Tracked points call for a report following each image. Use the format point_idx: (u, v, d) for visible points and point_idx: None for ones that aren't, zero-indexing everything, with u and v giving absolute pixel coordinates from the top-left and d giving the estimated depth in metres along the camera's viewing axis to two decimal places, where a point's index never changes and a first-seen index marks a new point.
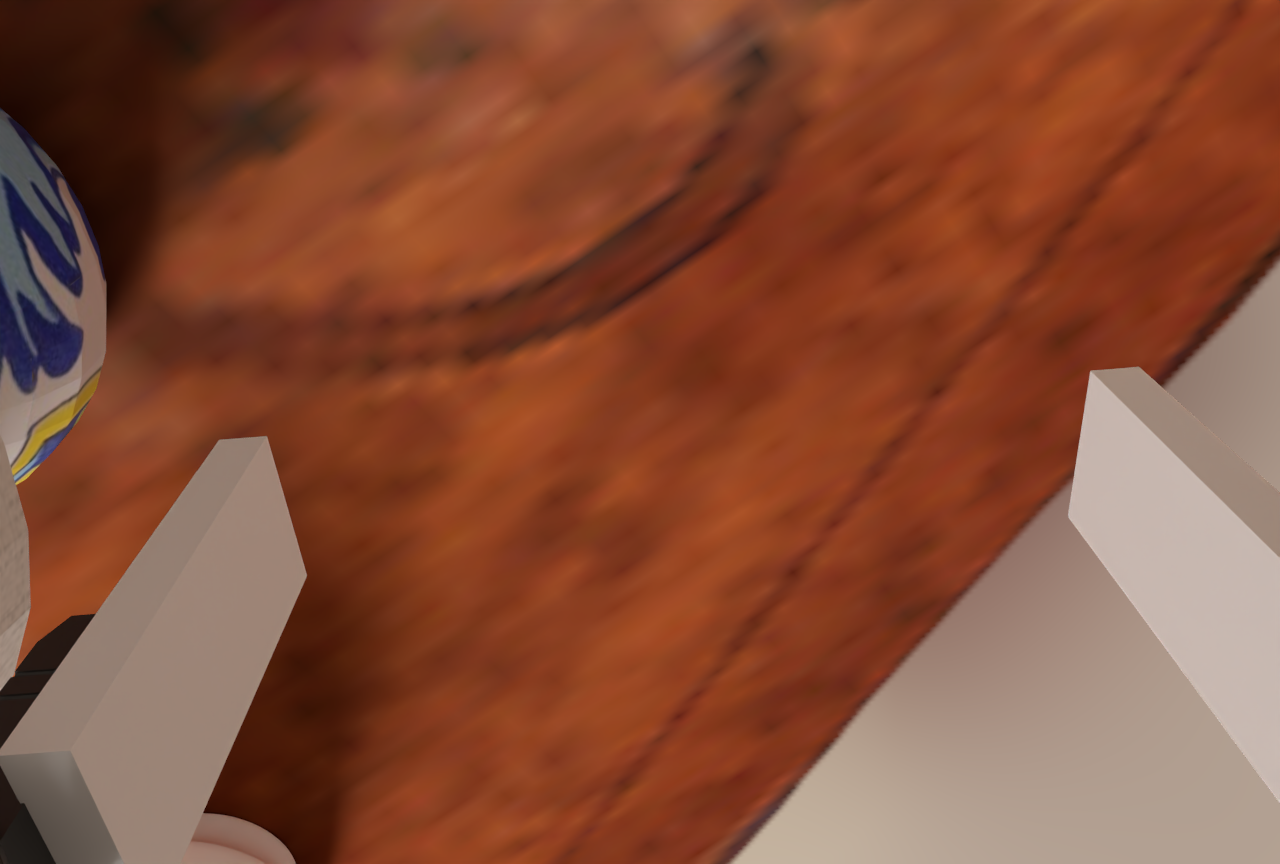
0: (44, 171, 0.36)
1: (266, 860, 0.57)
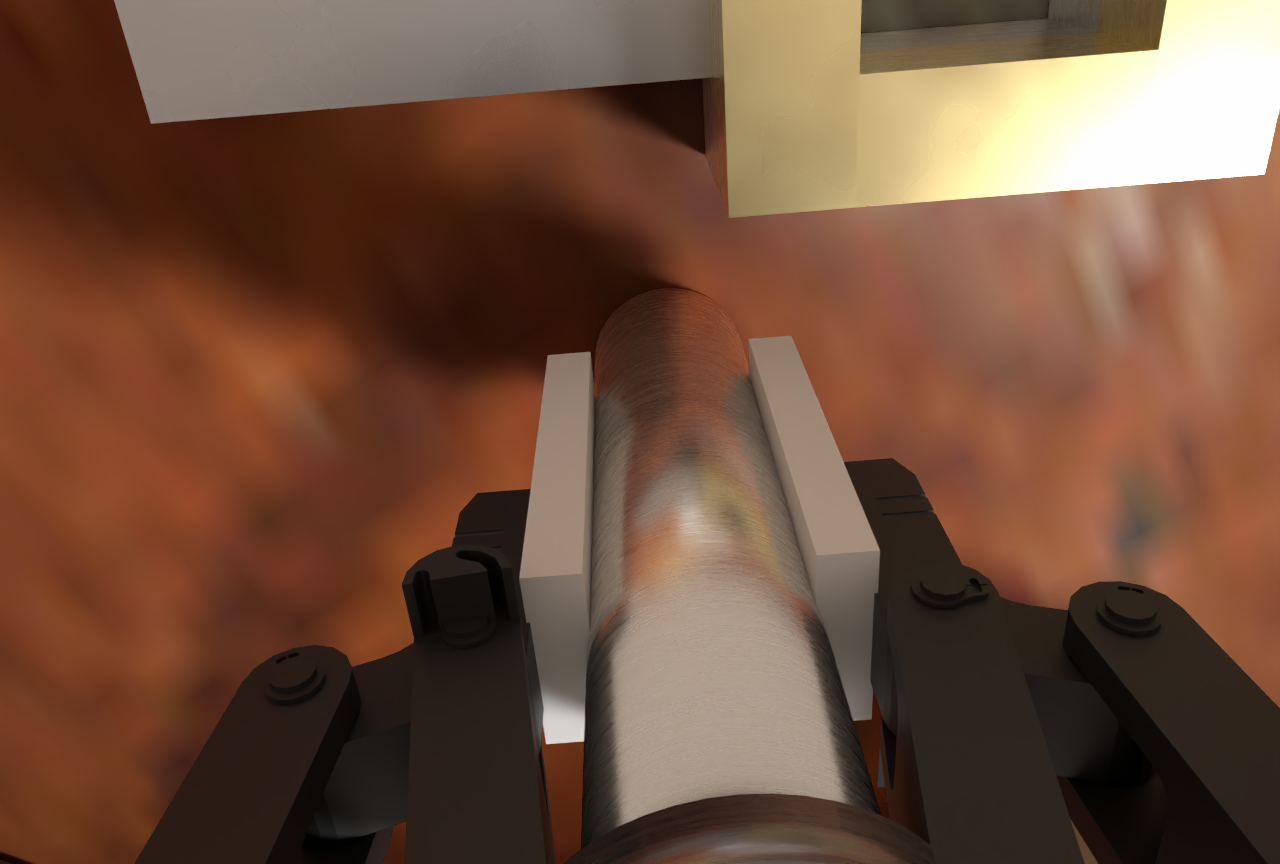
0: None
1: None
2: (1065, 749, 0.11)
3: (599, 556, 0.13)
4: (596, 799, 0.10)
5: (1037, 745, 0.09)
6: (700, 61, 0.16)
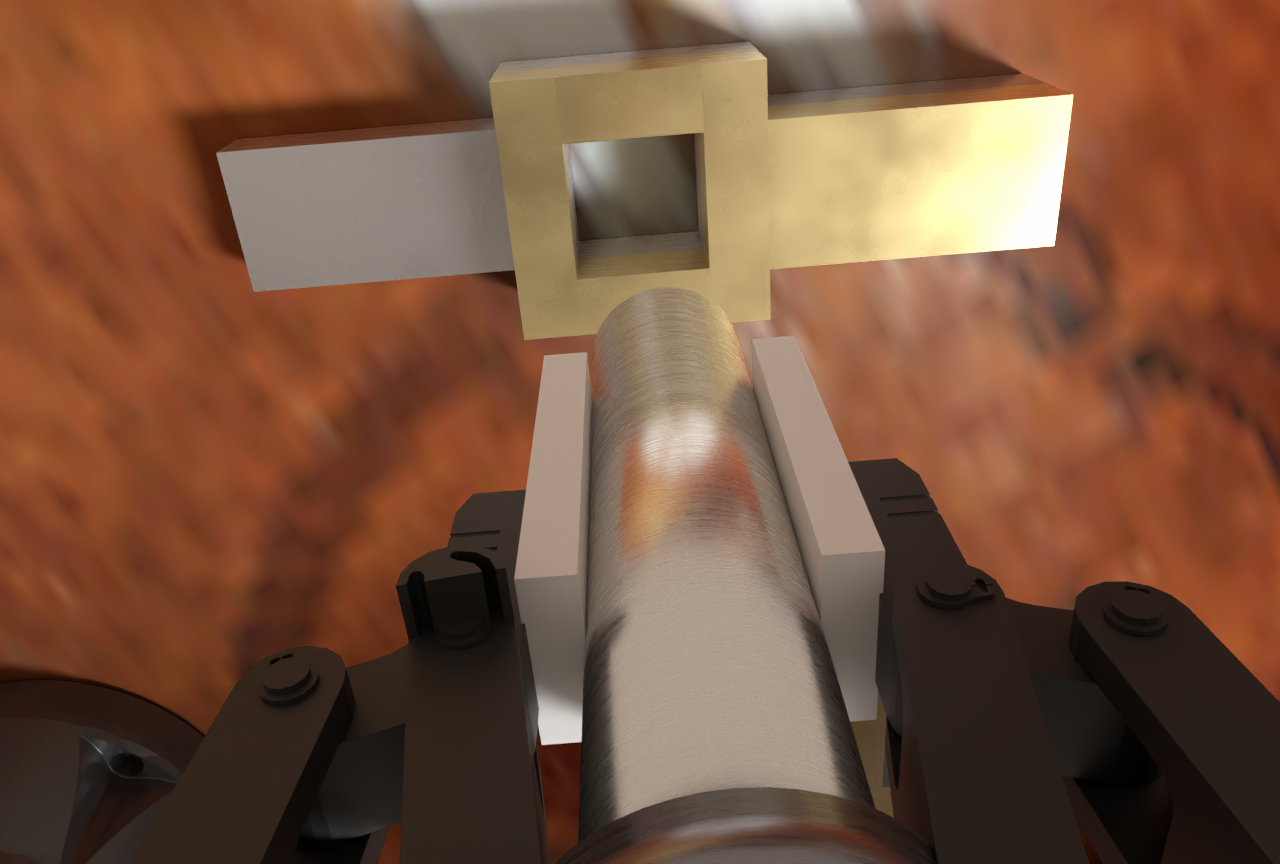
0: None
1: None
2: (1072, 749, 0.11)
3: (597, 554, 0.13)
4: (593, 794, 0.10)
5: (1043, 746, 0.09)
6: None
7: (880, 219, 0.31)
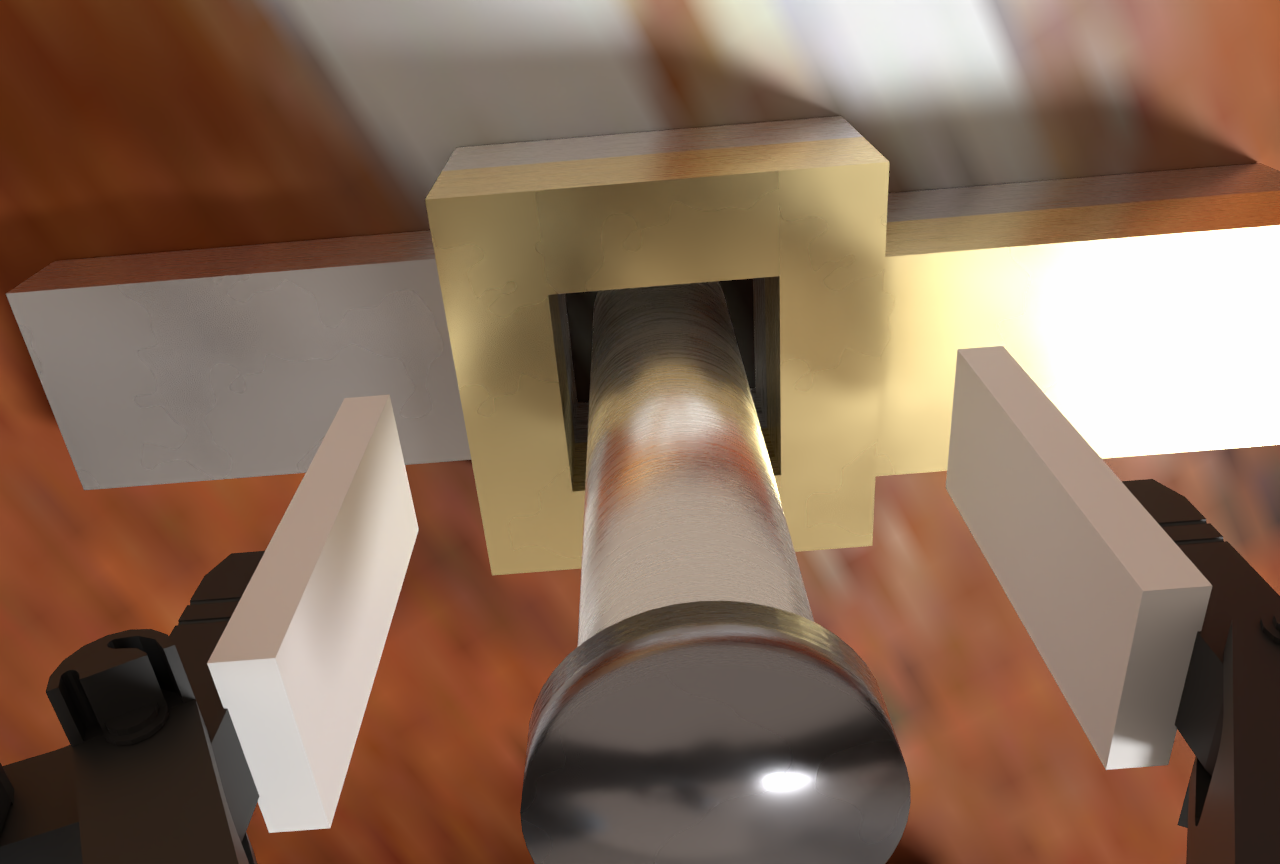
0: None
1: None
2: None
3: (594, 462, 0.15)
4: (589, 631, 0.12)
5: None
6: None
7: None
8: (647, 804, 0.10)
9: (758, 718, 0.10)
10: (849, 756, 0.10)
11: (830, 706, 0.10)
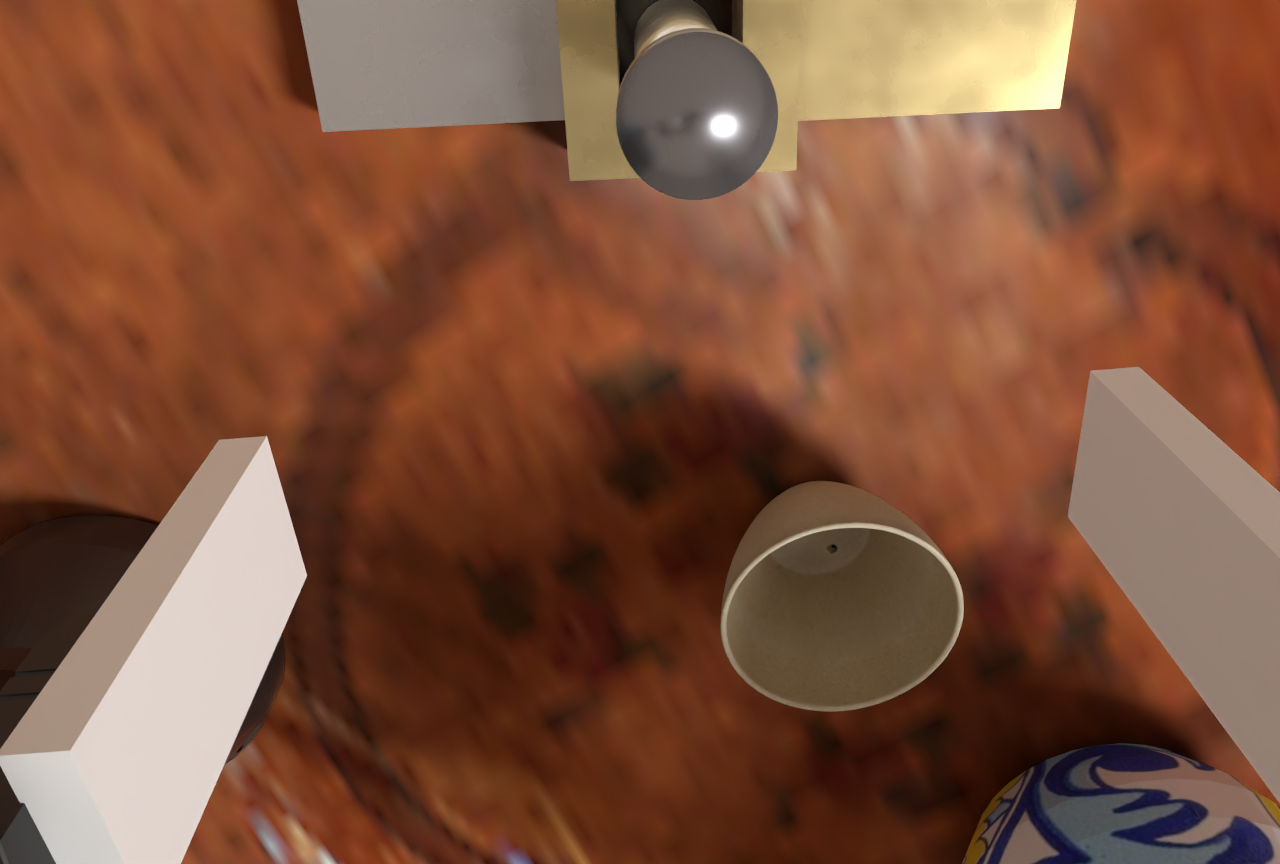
0: (1101, 793, 0.49)
1: None
2: None
3: (641, 52, 0.30)
4: None
5: None
6: (563, 113, 0.36)
7: (900, 76, 0.34)
8: (669, 111, 0.25)
9: (715, 62, 0.24)
10: (752, 86, 0.24)
11: (744, 57, 0.24)
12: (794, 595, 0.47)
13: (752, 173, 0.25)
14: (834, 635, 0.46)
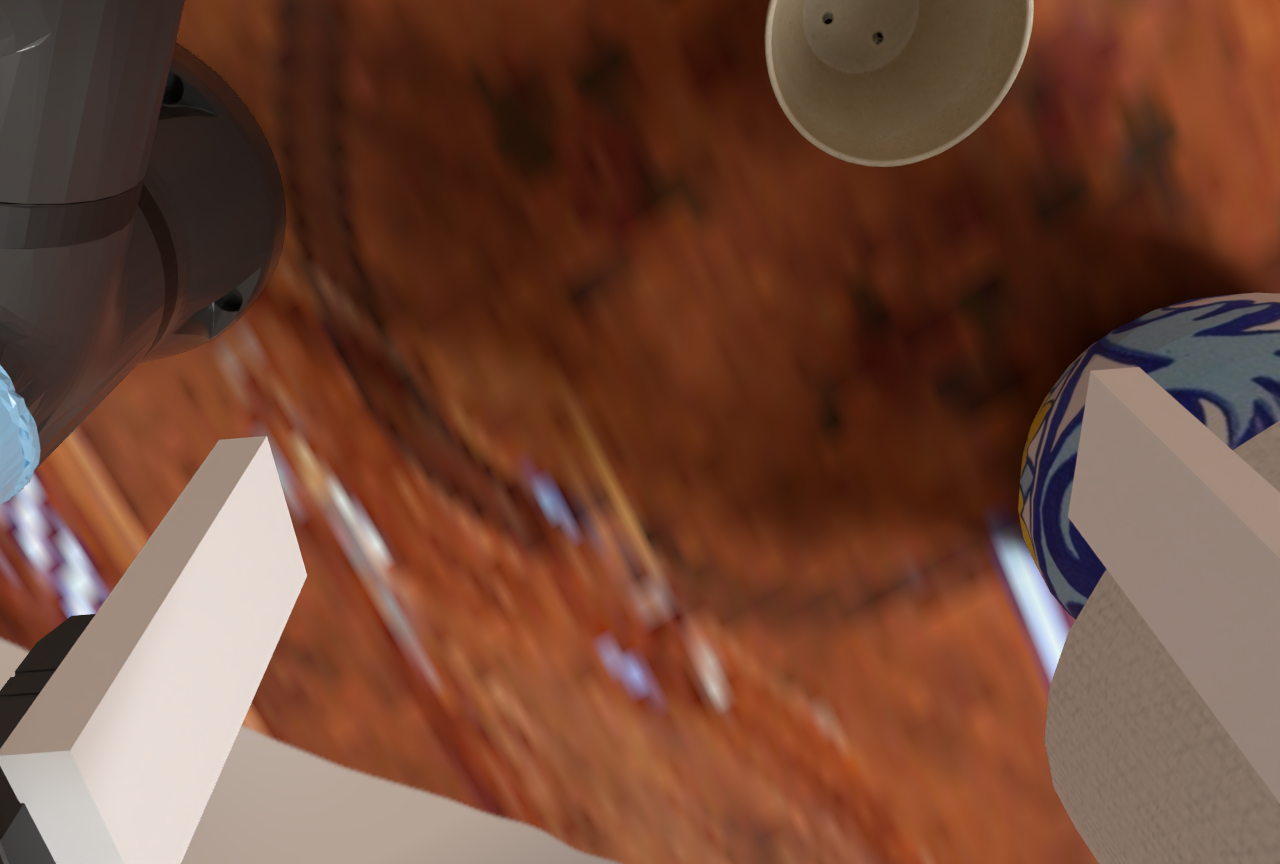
0: (1178, 312, 0.45)
1: None
2: None
3: None
4: None
5: None
6: None
7: None
8: None
9: None
10: None
11: None
12: (838, 89, 0.43)
13: None
14: (885, 117, 0.42)
